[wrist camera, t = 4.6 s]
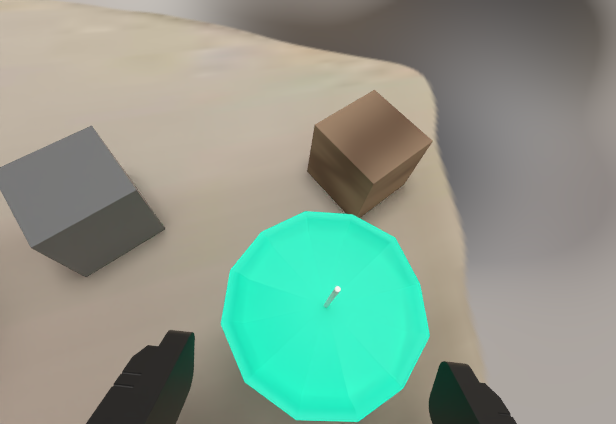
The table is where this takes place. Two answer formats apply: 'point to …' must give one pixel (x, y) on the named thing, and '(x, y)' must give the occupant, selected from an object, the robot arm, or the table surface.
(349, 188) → the walnut block
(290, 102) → the table surface
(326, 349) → the candle
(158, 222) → the gray cube
